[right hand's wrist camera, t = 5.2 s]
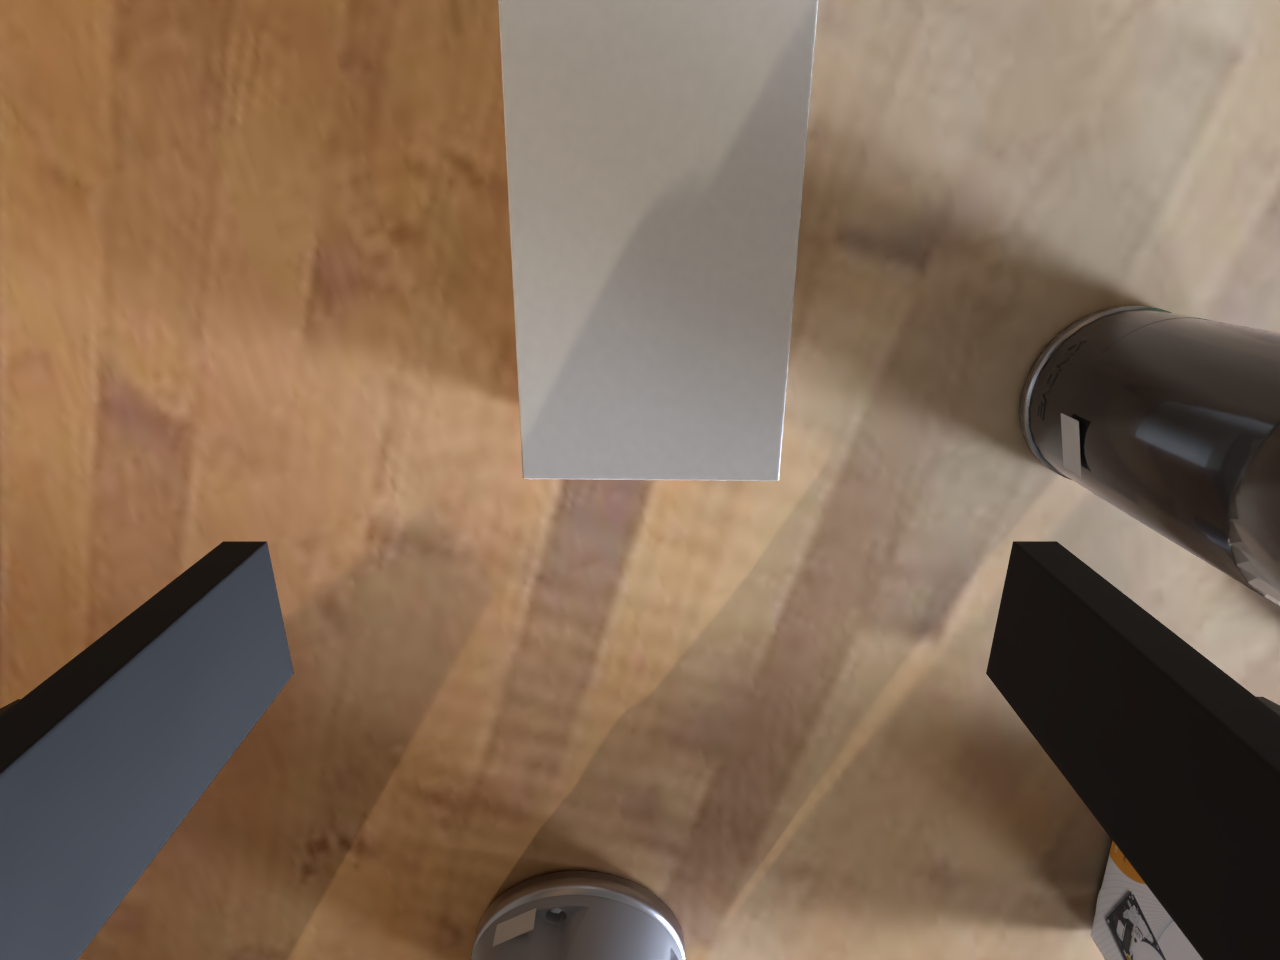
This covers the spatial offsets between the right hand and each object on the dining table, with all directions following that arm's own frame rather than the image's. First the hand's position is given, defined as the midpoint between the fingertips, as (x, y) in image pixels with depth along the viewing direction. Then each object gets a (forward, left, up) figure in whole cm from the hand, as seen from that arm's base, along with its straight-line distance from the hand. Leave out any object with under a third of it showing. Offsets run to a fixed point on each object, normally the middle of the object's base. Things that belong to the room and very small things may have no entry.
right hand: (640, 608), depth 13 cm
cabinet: (+3, -5, -26) cm, 26 cm away
